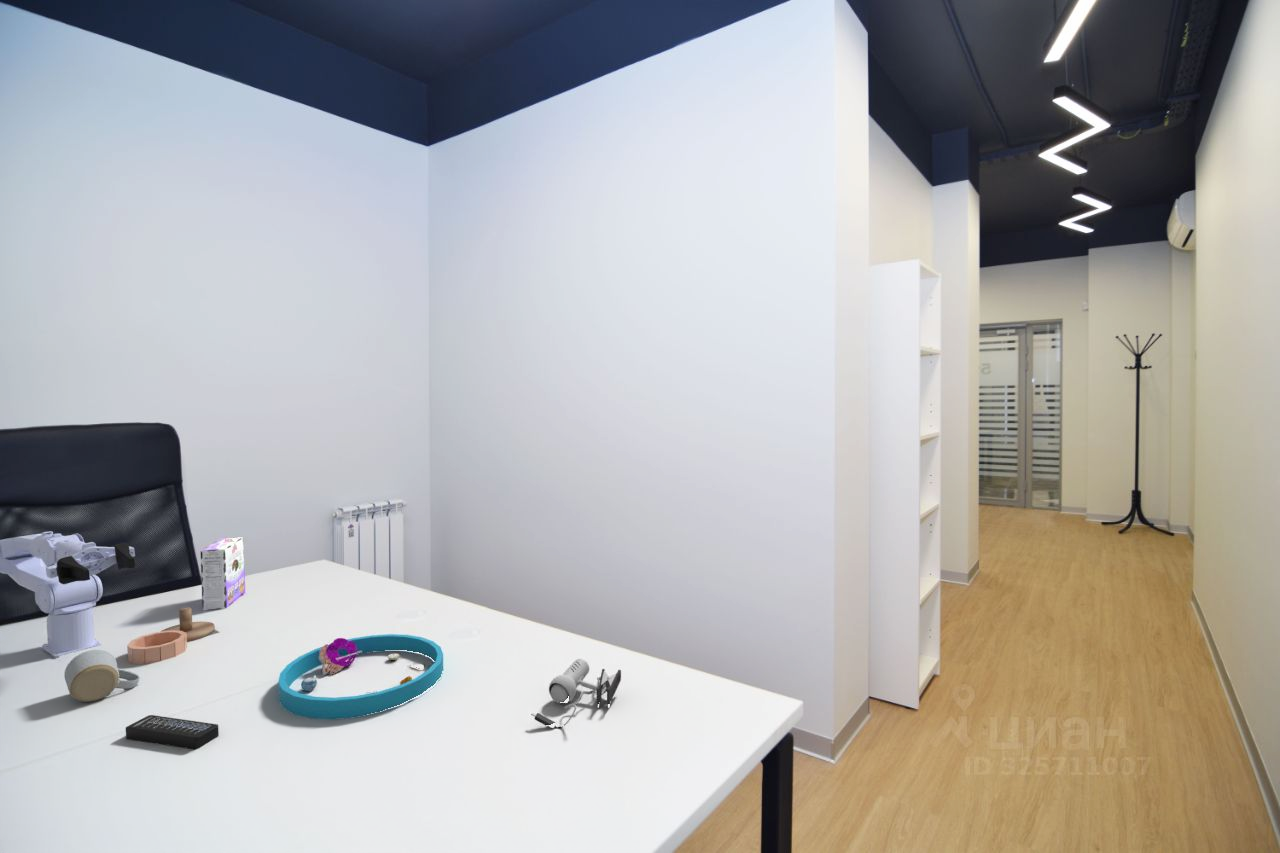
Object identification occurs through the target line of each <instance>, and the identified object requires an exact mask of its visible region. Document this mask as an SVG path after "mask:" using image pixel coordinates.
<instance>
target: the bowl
mask: <svg viewBox="0 0 1280 853" xmlns="http://www.w3.org/2000/svg"><path fill="white" fill-rule="evenodd" d="M161 631H162V630H161ZM126 646H127V650H126V651H127V661H128V662H130V663H132V664H142V665H143V664H144V665H145V664H152V663H158V662H162V661H166V660H169V659H174V658H176V657H177V656H179V655H182V654H183V653H185V652H186V651H187V649H188V642H187V633H185V632H183V631H176V630H169V631H162V632H160V631H155V632H152V633H148V634H145V635H141V636H139V637H136V638H134V639H132V640H130V641H129V642H128V644H127V645H126Z"/></svg>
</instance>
